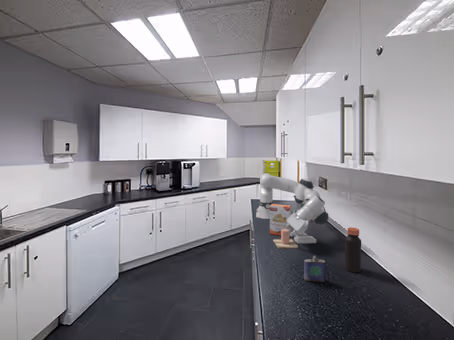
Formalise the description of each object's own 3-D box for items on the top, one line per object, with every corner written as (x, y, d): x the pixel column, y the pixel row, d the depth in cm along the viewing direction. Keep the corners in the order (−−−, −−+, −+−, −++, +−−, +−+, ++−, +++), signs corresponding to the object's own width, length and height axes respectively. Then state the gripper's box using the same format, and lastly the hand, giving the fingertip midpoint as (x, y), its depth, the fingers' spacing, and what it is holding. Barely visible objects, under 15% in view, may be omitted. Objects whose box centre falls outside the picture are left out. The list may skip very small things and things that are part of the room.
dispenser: (290, 235, 151) (290, 232, 151) (307, 235, 152) (307, 231, 151) (297, 243, 137) (297, 240, 137) (316, 242, 138) (316, 239, 138)
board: (273, 240, 143) (273, 239, 142) (291, 240, 143) (291, 238, 143) (278, 248, 131) (278, 247, 131) (298, 247, 131) (298, 246, 131)
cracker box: (269, 234, 154) (269, 205, 153) (271, 231, 159) (271, 203, 158) (289, 237, 148) (289, 207, 146) (291, 234, 153) (291, 205, 151)
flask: (304, 281, 97) (304, 257, 97) (303, 277, 100) (303, 254, 99) (326, 282, 96) (326, 258, 95) (324, 278, 99) (324, 255, 98)
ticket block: (281, 241, 139) (281, 229, 138) (287, 241, 139) (287, 229, 138) (283, 244, 135) (283, 231, 134) (289, 243, 135) (289, 231, 134)
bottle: (353, 265, 110) (354, 226, 108) (364, 272, 103) (365, 231, 102) (341, 266, 109) (342, 227, 108) (351, 273, 102) (351, 232, 101)
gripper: (314, 225, 126) (297, 243, 126) (300, 215, 146) (286, 230, 146) (306, 218, 125) (289, 235, 126) (293, 209, 146) (279, 224, 146)
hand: (287, 232), depth 136 cm, fingers open, 8 cm apart
